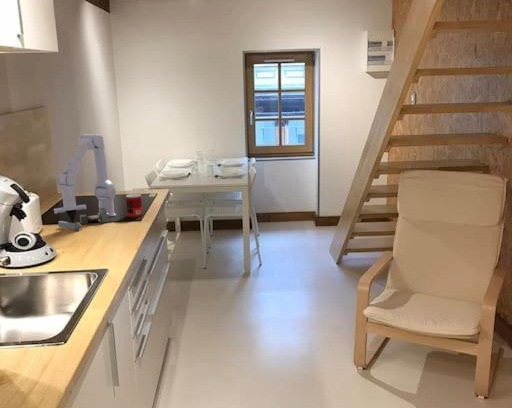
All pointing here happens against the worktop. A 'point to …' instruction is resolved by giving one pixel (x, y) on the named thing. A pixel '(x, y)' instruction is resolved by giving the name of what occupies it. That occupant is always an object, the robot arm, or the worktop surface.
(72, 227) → the grey lever bar
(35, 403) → the worktop surface
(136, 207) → the canned food
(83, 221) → the hook rod
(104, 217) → the eye bracket
